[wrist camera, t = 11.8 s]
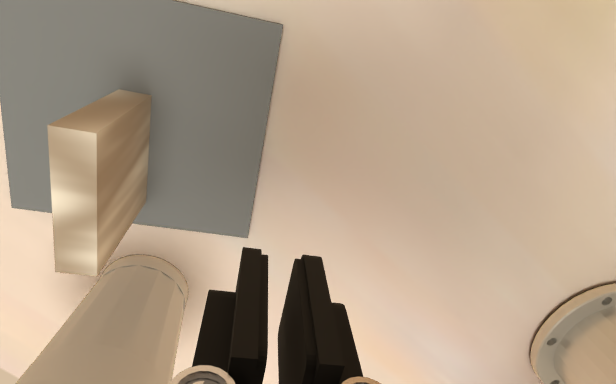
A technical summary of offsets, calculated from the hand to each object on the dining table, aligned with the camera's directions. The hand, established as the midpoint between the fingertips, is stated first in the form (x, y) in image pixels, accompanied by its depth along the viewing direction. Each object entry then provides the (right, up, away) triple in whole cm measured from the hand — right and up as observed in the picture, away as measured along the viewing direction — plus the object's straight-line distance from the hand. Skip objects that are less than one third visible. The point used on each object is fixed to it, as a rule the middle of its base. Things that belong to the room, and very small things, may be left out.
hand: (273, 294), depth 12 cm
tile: (-9, +7, +7) cm, 13 cm away
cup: (-11, -4, +18) cm, 21 cm away
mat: (-9, +7, +12) cm, 17 cm away
